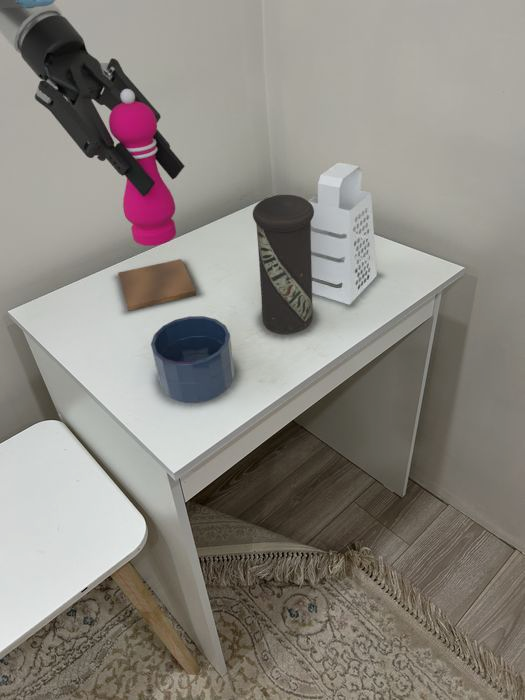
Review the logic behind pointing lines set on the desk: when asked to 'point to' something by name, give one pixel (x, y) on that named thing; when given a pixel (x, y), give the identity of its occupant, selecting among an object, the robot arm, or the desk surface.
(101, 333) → the desk surface
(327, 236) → the grater
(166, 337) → the pot
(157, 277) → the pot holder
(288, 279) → the container
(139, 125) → the pepper mill
